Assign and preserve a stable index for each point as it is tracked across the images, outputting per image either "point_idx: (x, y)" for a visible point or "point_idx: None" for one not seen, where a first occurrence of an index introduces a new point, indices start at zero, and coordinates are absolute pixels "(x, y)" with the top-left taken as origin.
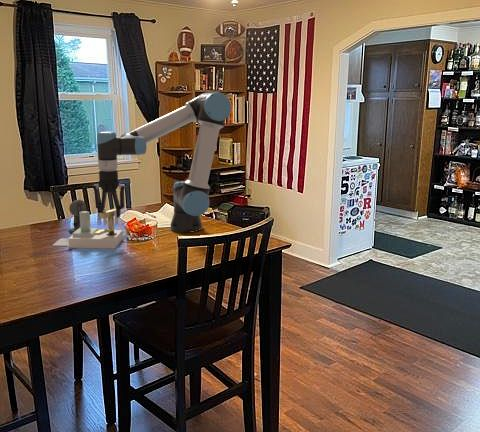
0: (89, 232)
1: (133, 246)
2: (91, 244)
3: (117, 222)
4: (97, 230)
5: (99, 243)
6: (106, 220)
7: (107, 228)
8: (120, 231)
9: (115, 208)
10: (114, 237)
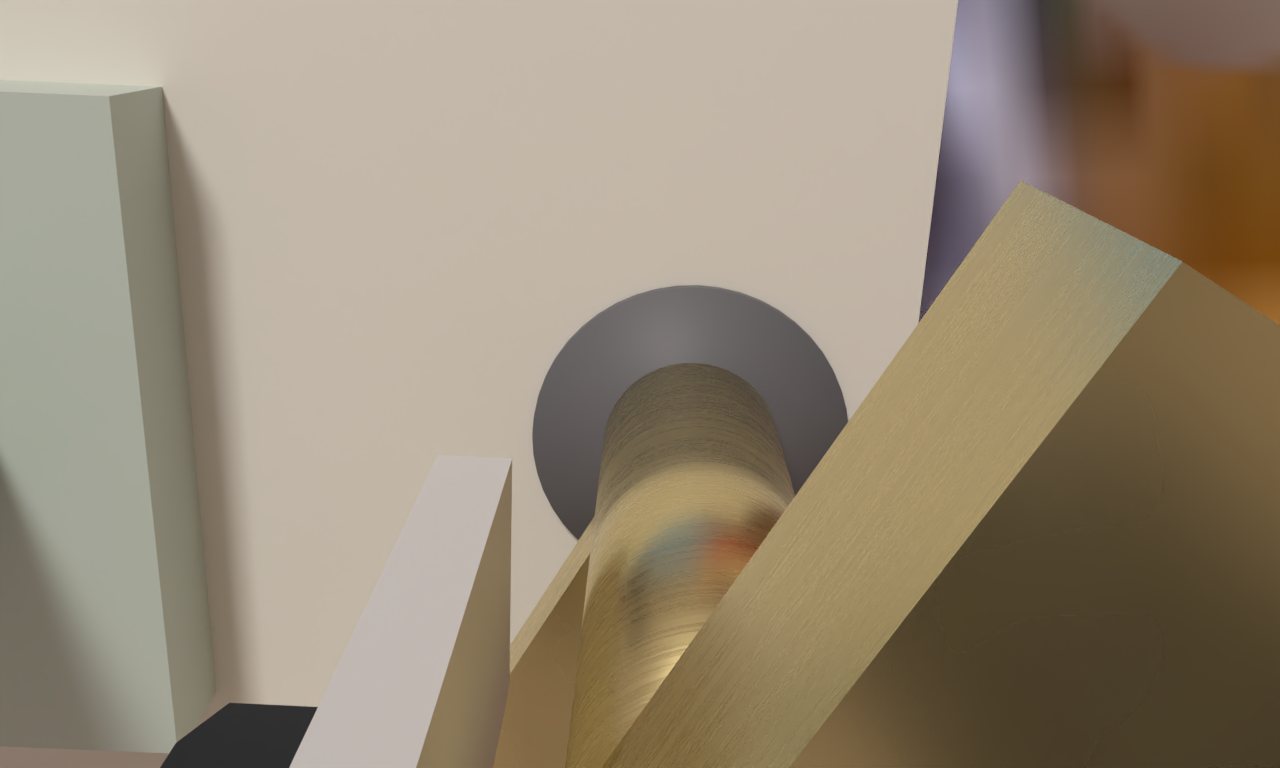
0: (59, 645)
1: None
2: None
3: None
4: (149, 183)
5: None
6: (488, 618)
7: (583, 607)
8: (914, 105)
9: (1060, 440)
10: None
